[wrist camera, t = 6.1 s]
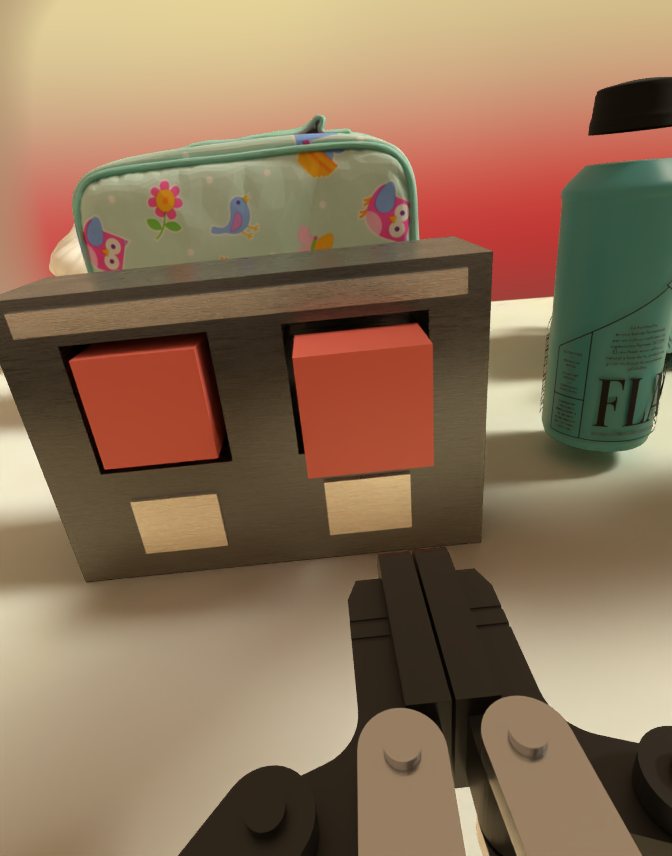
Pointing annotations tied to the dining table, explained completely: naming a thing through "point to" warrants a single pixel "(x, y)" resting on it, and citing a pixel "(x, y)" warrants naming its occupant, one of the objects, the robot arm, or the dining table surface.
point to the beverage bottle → (613, 284)
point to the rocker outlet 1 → (151, 400)
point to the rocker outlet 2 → (365, 399)
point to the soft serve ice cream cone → (68, 256)
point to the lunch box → (246, 199)
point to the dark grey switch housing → (255, 406)
